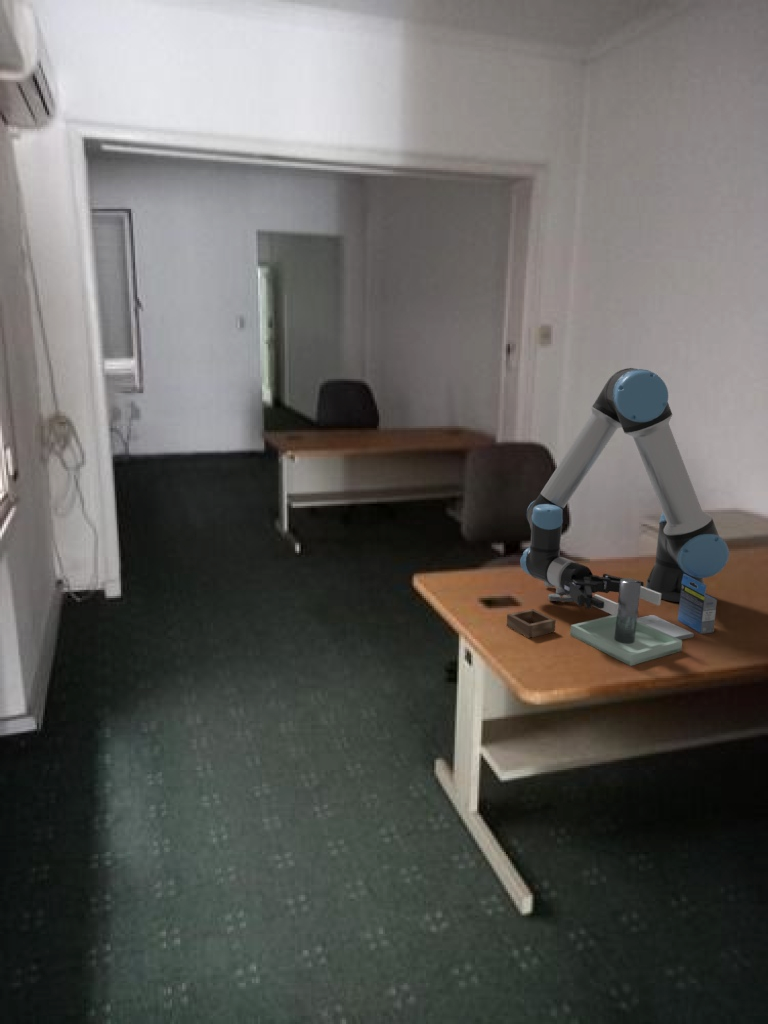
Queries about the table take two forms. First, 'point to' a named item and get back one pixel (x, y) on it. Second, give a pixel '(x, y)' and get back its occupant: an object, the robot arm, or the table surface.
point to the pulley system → (559, 592)
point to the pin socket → (537, 628)
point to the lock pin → (627, 610)
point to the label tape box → (696, 606)
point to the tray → (642, 650)
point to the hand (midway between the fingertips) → (638, 604)
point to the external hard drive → (665, 627)
